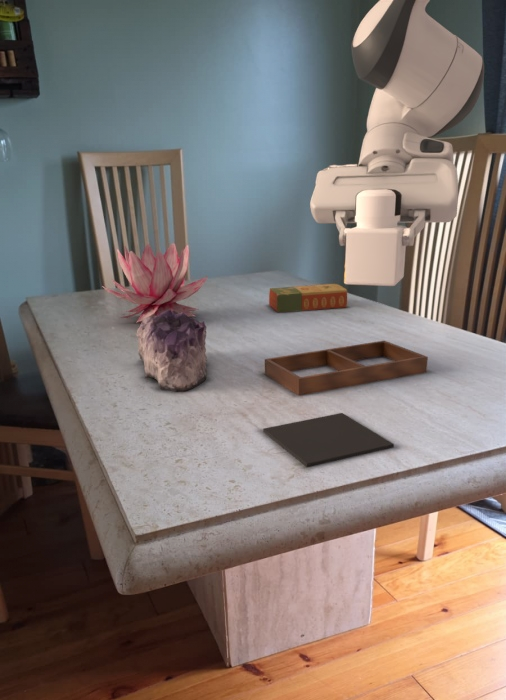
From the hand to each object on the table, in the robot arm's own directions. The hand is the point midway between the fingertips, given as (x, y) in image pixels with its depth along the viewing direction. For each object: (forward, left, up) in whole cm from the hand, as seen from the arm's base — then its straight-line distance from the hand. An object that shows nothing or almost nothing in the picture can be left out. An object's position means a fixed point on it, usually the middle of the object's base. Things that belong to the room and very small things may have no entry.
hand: (375, 243), depth 85 cm
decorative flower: (+16, -55, -19) cm, 60 cm away
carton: (-17, -50, -19) cm, 56 cm away
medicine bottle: (0, 0, -5) cm, 5 cm away
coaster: (+17, +17, -19) cm, 31 cm away
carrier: (+2, -3, -19) cm, 20 cm away
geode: (+24, -17, -19) cm, 35 cm away
